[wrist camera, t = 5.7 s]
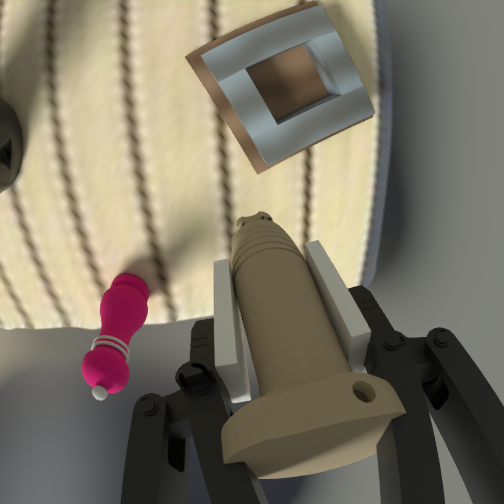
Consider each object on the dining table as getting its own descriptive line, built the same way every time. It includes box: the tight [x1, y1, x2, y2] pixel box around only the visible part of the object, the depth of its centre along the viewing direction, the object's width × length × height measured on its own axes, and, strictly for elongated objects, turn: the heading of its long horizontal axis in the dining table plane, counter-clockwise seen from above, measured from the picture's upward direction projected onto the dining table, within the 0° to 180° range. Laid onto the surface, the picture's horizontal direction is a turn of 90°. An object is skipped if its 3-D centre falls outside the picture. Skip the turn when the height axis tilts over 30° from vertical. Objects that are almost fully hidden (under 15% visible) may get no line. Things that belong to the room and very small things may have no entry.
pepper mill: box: [82, 274, 149, 400], centre depth 34 cm, size 7×7×20 cm
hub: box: [185, 1, 375, 174], centre depth 28 cm, size 17×17×5 cm
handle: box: [221, 212, 406, 479], centre depth 13 cm, size 5×6×15 cm
